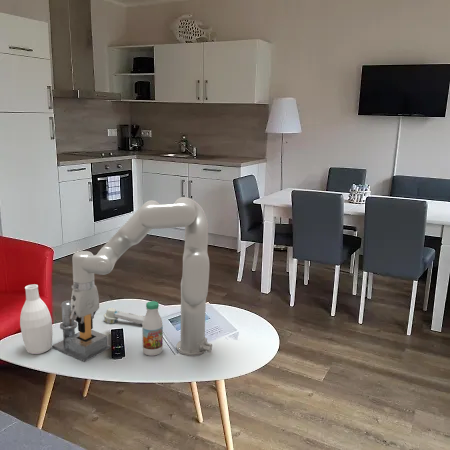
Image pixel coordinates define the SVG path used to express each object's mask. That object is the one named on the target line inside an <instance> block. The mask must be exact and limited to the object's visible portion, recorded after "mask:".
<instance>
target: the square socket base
mask: <svg viewBox="0 0 450 450" xmlns="http://www.w3.org/2000/svg"><path fill="white" fill-rule="evenodd" d="M60 304H61V318H62V321H61V323H60V325H59V328H60V330H62V337H63V340H60V341H58V342H56V343H54V344H52V346H51V348H52V349H54V350H56V351H59V352H61V353H63V354H66V355H68V356H70V357H72V358H74V359H76V360H79V361H81V362H83V363H85V362H87V361H89V360H90V359H93V358H95V357H96V356H98V355H101V354H102V353H103V352H105V351H107V350H110V349H111V345H110V344H108V335H107V334H104V333H101V332H99V331H96V330H94V329H91V337H90V338H88V339H86V340H85V339H82V338H80V331H78V332H77V333H76V330H75V329H76V328H78V322H76V321H75V320H71V319H70V316H71V299H70V300H69V299H67V300H64V301H62V302H61V303H60Z"/></svg>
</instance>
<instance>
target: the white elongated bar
mask: <svg viewBox="0 0 450 450" xmlns="http://www.w3.org/2000/svg"><path fill="white" fill-rule="evenodd" d="M144 317H145V315H141V314H136V313H131V312H126V311H120V310H117V309H116V308H114V307H108V308H107V309H106V313H104V314H103V318H104V319H103V320H104V322H105V323H107V324H115V323H116V324H117V322H118V319H119V320H123V321H127V322H131V323H134V324H139V325H142V324H143V320H144Z"/></svg>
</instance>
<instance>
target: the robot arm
mask: <svg viewBox="0 0 450 450" xmlns="http://www.w3.org/2000/svg"><path fill="white" fill-rule="evenodd" d="M174 228H175V229H176V228H185V232H184V247H183V248H184V249H183V254H182V275H181V276H182V277H181V280H180V337H179V338H180V340H179V341H178V342H177V343H176V347H177V348H176V350H178V351H179V352H178V351H177V352H178V353H180V354H181V355H184V356H193V357H195V356H200V355H203V354H204V353H206V352H209V353H211V351H212V348H213V344H212V343H209V342H208V338H207V337H206V312H207V311H206V309H207V308H206V304H207V303H206V302H207V297H208V292H209V282H210V281H209V280H210V258H209V254H208V244H209V243H208V242H209V225H208V218H207V215H206V212H205V211H204V209H203V207H202V206H201V205H200V204H199V203H198V202H197V201H195V200H194V199H193V198H190V197H186V196H181V197H178V198H177V199H176V200H175V201H174V202H173V204H172V203H170V204H161V203H160V202H158V201H157V200H154V199H153V200H151V199H150V200H148V201H146V202H144V203H143V204H142V205H141V206H140V207H139V208H138V210H136V212H134V213H133V214H132V215H131V217H130V218H128V220H126V221H125V223H123V225H122V226H121V227H120V228H119V229H118V230H117V232H116V233H115V234H114V235H113V236H112V237H111V238H110V239H108V241H107V242H106V243H105V244H104V245H103V246H102V247H101V248H100V250H98V252H97V254H93V253H92V252H91V251H87V250H81V251H80V250H79V251H76V252H74V253H73V255H72V259H71V260H72V280H73V281H72V282H73V284H72V285H71V289H72V292H71V297H70V298H71V299H70V301H71V316H70V319H71V320H74V321H75V322H77V330H78V332H82V333H85V323H84V316H86V315H89V314H91V330H94V324H93V322H94V321H93V319H94V318H95V314H96V313H97V311H99V309H100V300H99V299H100V297H99V291H98V287H97V285H96V284H95V275H101V276H102V275H103V276H104V275H107V274H111V272H112V271H113V269H114V267H115V264H116V263H117V261H118V260H119V259H120V258H121V256H122V255H123V254H125V253H126V252H127V250H128V249H130V248H131V247H132V246H136V245H138V244H139V243H140V242H141V241H142V240H143V239H145V237H146V236H147V235H148V234H149V233H150V232H151V230H156V229H157V230H158V229H159V230H160V229H162V230H163V229H174ZM179 348H180V349H179Z"/></svg>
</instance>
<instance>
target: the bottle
mask: <svg viewBox="0 0 450 450" xmlns="http://www.w3.org/2000/svg"><path fill="white" fill-rule="evenodd" d="M24 289H25V290H24V291H25V301H24V304H23V306H22V308H21V312H20V316H19V318H20V320H19V326H20V331H21V336H22V341H23V343H24V346H25V350H26V352H27V353H29V354H31V355H39V354H43V353H46V352H47V351H49V350H50V349H51V348H52V345H53V335H54V334H53V333H54V332H53V319H52V316H51V313H50V311H49V310H50V309H49V308H48V306H47V305H46V302H44V301H43V300H42V299H41V297H40V294H39V292H40V291H39V285H38V284H35V283H34V284H28V285H26V286H25V287H24Z"/></svg>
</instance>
